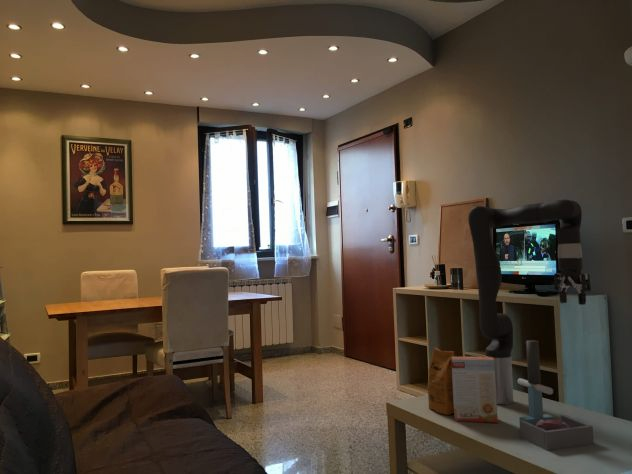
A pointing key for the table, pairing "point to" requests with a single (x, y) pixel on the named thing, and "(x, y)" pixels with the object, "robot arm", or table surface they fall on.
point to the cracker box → (474, 389)
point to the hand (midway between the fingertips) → (572, 303)
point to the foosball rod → (534, 385)
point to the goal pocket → (558, 434)
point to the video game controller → (551, 425)
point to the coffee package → (441, 382)
